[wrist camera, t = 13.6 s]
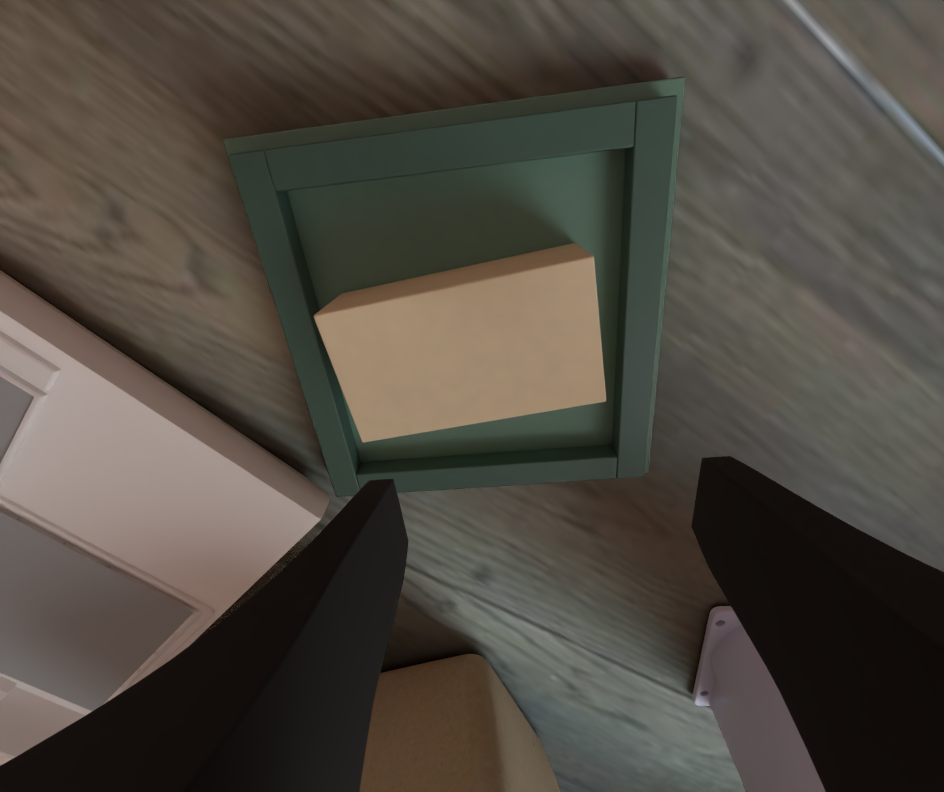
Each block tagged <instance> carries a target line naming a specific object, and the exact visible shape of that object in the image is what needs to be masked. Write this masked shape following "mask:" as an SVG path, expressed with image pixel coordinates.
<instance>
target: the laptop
mask: <svg viewBox="0 0 944 792" xmlns="http://www.w3.org/2000/svg"><path fill="white" fill-rule="evenodd" d="M329 502H330V501H329V498H328V494H327V493H325V492H324V491H323V490H322V489H320V488H319V487H318V486H317V485H315V484H314V483H313V482H312V481H311V480H309V479H308V478H307V477H305V476H304V475H302V474H301V473H299V472H298V471H296V470H295V469H293V468H292V467H290V466H289V465H287V464H286V463H285V462H283V461H282V460H280V459H279V458H277V457H276V456H274V455H273V454H271V453H270V452H268V451H267V450H265V449H264V448H262V447H261V446H259V445H258V444H256V443H255V442H253V441H252V440H251V439H249V438H248V437H246V436H245V435H243V434H242V433H240V432H239V431H237V430H236V429H234V428H233V427H231V426H230V425H228V424H227V423H225V422H224V421H222V420H221V419H220V418H218V417H217V416H215V415H214V414H212V413H211V412H209V411H208V410H206V409H205V408H203V407H202V406H200V405H199V404H197V403H196V402H194V401H193V400H191V399H190V398H188V397H187V396H186V395H184V394H183V393H181V392H180V391H178V390H177V389H175V388H174V387H172V386H171V385H169V384H168V383H166V382H165V381H163V380H162V379H160V378H159V377H157V376H156V375H154V374H153V373H152V372H150V371H149V370H147V369H146V368H144V367H143V366H141V365H140V364H138V363H137V362H135V361H134V360H132V359H131V358H129V357H128V356H126V355H125V354H123V353H122V352H120V351H119V350H118V349H116V348H115V347H113V346H112V345H110V344H109V343H107V342H106V341H104V340H103V339H101V338H100V337H98V336H97V335H95V334H94V333H92V332H91V331H89V330H88V329H86V328H85V327H84V326H82V325H81V324H79V323H78V322H76V321H75V320H73V319H72V318H70V317H69V316H67V315H66V314H64V313H63V312H61V311H60V310H58V309H57V308H55V307H54V306H52V305H51V304H50V303H48V302H47V301H45V300H44V299H42V298H41V297H39V296H38V295H36V294H35V293H33V292H32V291H30V290H29V289H27V288H26V287H24V286H23V285H21V284H20V283H19V282H17V281H16V280H14V279H13V278H11V277H10V276H8V275H7V274H5V273H4V272H2V271H1V270H0V766H1V765H2V764H4V763H6V762H8V761H10V760H11V759H13V758H15V757H16V756H18V755H20V754H22V753H23V752H25V751H27V750H28V749H30V748H32V747H33V746H35V745H37V744H38V743H40V742H42V741H43V740H45V739H47V738H49V737H50V736H52V735H54V734H55V733H57V732H59V731H60V730H62V729H64V728H65V727H67V726H69V725H71V724H72V723H74V722H76V721H77V720H79V719H81V718H82V717H84V716H86V715H87V714H89V713H90V712H92V711H94V710H95V709H97V708H98V707H100V706H102V705H103V704H105V703H106V702H108V701H109V700H111V699H113V698H114V697H116V696H117V695H119V694H120V693H122V692H123V691H125V690H126V689H128V688H129V687H131V686H133V685H134V684H136V683H137V682H139V681H140V680H142V679H143V678H145V677H146V676H148V675H149V674H150V673H152V672H153V671H155V670H156V669H158V668H159V667H161V666H162V665H164V664H165V663H167V662H168V661H169V660H171V659H172V658H174V657H175V656H176V655H178V654H179V653H181V652H182V651H183V650H185V649H186V648H187V647H189V646H190V645H191V644H192V643H193V642H194V641H195V640H196V639H197V638H198V637H199V636H200V635H201V634H202V633H203V632H204V631H205V630H206V629H207V628H208V627H210V626H211V625H212V624H213V623H214V622H215V621H216V620H217V619H218V618H219V617H220V616H221V615H222V614H223V613H224V612H225V611H226V610H227V609H228V608H229V607H230V606H231V605H232V604H233V603H235V602H236V601H237V600H238V599H239V598H240V597H241V596H242V595H243V594H244V593H245V592H246V591H247V590H248V589H249V588H250V587H251V586H252V585H253V584H254V583H255V582H256V581H257V580H258V579H260V578H261V577H262V576H263V575H264V574H265V573H266V572H267V571H268V570H269V569H270V568H271V567H272V566H273V565H274V564H275V563H276V562H277V561H278V560H279V559H280V558H281V557H282V556H283V555H285V554H286V553H287V552H288V551H289V550H290V549H291V548H292V547H293V546H294V545H295V544H296V543H297V542H298V541H299V540H300V539H301V538H302V537H303V536H304V535H305V534H306V533H307V532H308V531H310V530H311V529H312V528H313V527H314V526H315V525H316V524H317V523H318V522H319V521H320V520H321V518H322V516H323V514H324V512H325V510H326V508H327V506H328V504H329Z"/></svg>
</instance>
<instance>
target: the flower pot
mask: <svg viewBox="0 0 944 792" xmlns="http://www.w3.org/2000/svg"><path fill="white" fill-rule="evenodd" d="M359 792H560V789H559V786H558V783H557V780H556V777H555V775H554V772H553V769H552V767H551V764H550V761H549V758H548V756H547V753H546V750H545V748H544V745H543V743H542V742H541V741H540V739H539V738H538V736H537V735H536V733H535V732H534V730H533V729H532V727H531V726H530V724H529V723H528V721H527V720H526V718H525V717H524V715H523V714H522V712H521V711H520V709H519V708H518V706H517V705H516V703H515V702H514V700H513V699H512V697H511V696H510V694H509V692H508V691H507V690H506V688H505V687H504V685H503V684H502V682H501V681H500V679H499V678H498V676H497V675H496V673H495V672H494V670H493V669H492V667H491V666H490V664H489V663H488V661H487V660H486V659H485V658H484V657H482V656H479V655H476V654H464V655H460V656H455V657H450V658H446V659H441V660H436V661H432V662H427V663H423V664H418V665H414V666H409V667H405V668H400V669H396V670H391V671H387V672H382V673H380V675H379V679H378V684H377V688H376V693H375V698H374V702H373V708H372V715H371V721H370V727H369V733H368V739H367V745H366V751H365V758H364V764H363V771H362V778H361V785H360V791H359Z"/></svg>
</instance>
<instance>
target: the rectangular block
mask: <svg viewBox="0 0 944 792" xmlns="http://www.w3.org/2000/svg"><path fill="white" fill-rule="evenodd" d="M314 319H315V322H316V324H317V327H318V330H319V332H320V335H321V337H322V340H323V342H324V345H325V348H326V350H327V353H328V355H329V358H330V360H331V363H332V366H333V368H334V371H335V373H336V376H337V378H338V381H339V383H340V386H341V389H342V391H343V394H344V396H345V399H346V401H347V404H348V407H349V409H350V412H351V414H352V417H353V419H354V422H355V425H356V427H357V430H358V432H359V435H360V437H361V440H362V442H370V441H376V440H381V439H387V438H393V437H399V436H405V435H411V434H417V433H423V432H429V431H435V430H440V429H446V428H452V427H458V426H464V425H470V424H476V423H482V422H488V421H494V420H500V419H505V418H511V417H517V416H523V415H529V414H535V413H541V412H547V411H553V410H559V409H565V408H570V407H576V406H582V405H588V404H594V403H600V402H605V401H606V390H605V378H604V367H603V355H602V344H601V332H600V321H599V309H598V298H597V286H596V275H595V263H594V257H593V256H592V255H591V254H590V253H588V252H587V251H586V250H584V249H583V248H582V247H580V246H579V245H577V244H576V243H572V244H567V245H563V246H558V247H553V248H549V249H544V250H540V251H535V252H530V253H526V254H521V255H517V256H512V257H507V258H503V259H498V260H493V261H489V262H484V263H480V264H475V265H470V266H466V267H461V268H457V269H452V270H447V271H443V272H438V273H434V274H429V275H424V276H420V277H415V278H411V279H406V280H401V281H397V282H392V283H388V284H383V285H378V286H374V287H369V288H365V289H360V290H355V291H351V292H346V293H342V294H340V295H339V296H338V297H337V298H335V299H334V300H333V301H332V302H330V303H329V304H328V305H326V306H325V307H324V308H323V309H321V310H320V311H319V312H317V313H316V314H315V315H314Z"/></svg>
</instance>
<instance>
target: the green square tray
mask: <svg viewBox="0 0 944 792" xmlns="http://www.w3.org/2000/svg"><path fill="white" fill-rule="evenodd" d="M684 86H685V77H677V78H670V79H663V80H655V81H648V82H641V83H633V84H626V85H618V86H611V87H604V88H596V89H589V90H582V91H574V92H567V93H560V94H552V95H545V96H537V97H530V98H523V99H515V100H508V101H501V102H493V103H486V104H479V105H471V106H464V107H456V108H449V109H442V110H434V111H427V112H420V113H412V114H405V115H398V116H390V117H383V118H375V119H368V120H361V121H353V122H346V123H339V124H331V125H324V126H317V127H309V128H302V129H294V130H287V131H280V132H272V133H265V134H258V135H250V136H243V137H236V138H228V139H224V140H223V143H224V146H225V149H226V152H227V155H228V158H229V161H230V165H231V168H232V171H233V174H234V177H235V180H236V183H237V187H238V190H239V193H240V196H241V199H242V202H243V205H244V209H245V212H246V215H247V218H248V221H249V224H250V228H251V231H252V234H253V237H254V240H255V243H256V246H257V250H258V253H259V256H260V259H261V262H262V265H263V268H264V272H265V275H266V278H267V281H268V284H269V287H270V290H271V294H272V297H273V300H274V303H275V306H276V309H277V312H278V316H279V319H280V322H281V325H282V328H283V331H284V334H285V338H286V341H287V344H288V347H289V350H290V353H291V357H292V360H293V363H294V366H295V369H296V372H297V375H298V379H299V382H300V385H301V388H302V391H303V394H304V397H305V401H306V404H307V407H308V410H309V413H310V416H311V419H312V423H313V426H314V429H315V432H316V435H317V438H318V441H319V445H320V448H321V451H322V454H323V457H324V460H325V463H326V467H327V470H328V473H329V476H330V479H331V482H332V486H333V489H334V492H335V494H336V496H337V497H339V496H355V495H356V494H357V493H358V492H359V490H360V489H361V488H362V487H363V486H364V485H365V484H366V483H367V482H368V481H369V480H381V479H394V483H395V487H396V491H397V493H400V492H416V491H432V490H447V489H463V488H478V487H494V486H510V485H525V484H541V483H556V482H572V481H588V480H603V479H615V478H618V479H620V478H636V477H644V473H647V472H649V463H650V452H651V441H652V430H653V420H654V409H655V398H656V387H657V377H658V366H659V355H660V344H661V334H662V323H663V312H664V301H665V291H666V280H667V269H668V258H669V247H670V237H671V226H672V215H673V204H674V194H675V183H676V172H677V161H678V151H679V140H680V129H681V118H682V108H683V97H684ZM572 243H576V244H577V245H579V246H580V247H582V248H583V249H584V250H586V251H587V252H588V253H590V254H591V255H592V256H593V257H594V263H595V275H596V286H597V298H598V309H599V321H600V332H601V344H602V355H603V367H604V378H605V390H606V401H605V402H600V403H594V404H588V405H582V406H576V407H570V408H565V409H559V410H553V411H547V412H541V413H535V414H529V415H523V416H517V417H511V418H505V419H500V420H494V421H488V422H482V423H476V424H470V425H464V426H458V427H452V428H446V429H440V430H435V431H429V432H423V433H417V434H411V435H405V436H399V437H393V438H387V439H381V440H376V441H370V442H362V440H361V437H360V435H359V432H358V430H357V427H356V425H355V422H354V419H353V417H352V414H351V412H350V409H349V407H348V404H347V401H346V399H345V396H344V394H343V391H342V389H341V386H340V383H339V381H338V378H337V376H336V373H335V371H334V368H333V366H332V363H331V360H330V358H329V355H328V353H327V350H326V348H325V345H324V342H323V340H322V337H321V335H320V332H319V330H318V327H317V324H316V322H315V319H314V315H315V314H316V313H317V312H319V311H320V310H321V309H323V308H324V307H325V306H326V305H328V304H329V303H330V302H332V301H333V300H334V299H335V298H337V297H338V296H339V295H340V294H342V293H346V292H351V291H355V290H360V289H365V288H369V287H374V286H378V285H383V284H388V283H392V282H397V281H401V280H406V279H411V278H415V277H420V276H424V275H429V274H434V273H438V272H443V271H447V270H452V269H457V268H461V267H466V266H470V265H475V264H480V263H484V262H489V261H493V260H498V259H503V258H507V257H512V256H517V255H521V254H526V253H530V252H535V251H540V250H544V249H549V248H553V247H558V246H563V245H567V244H572Z"/></svg>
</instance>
